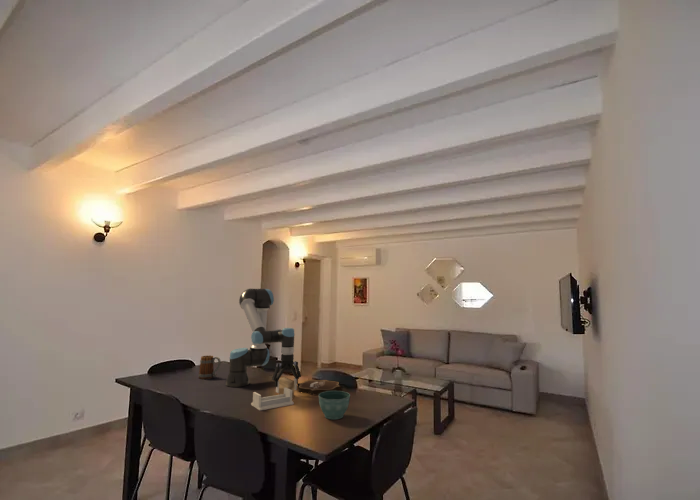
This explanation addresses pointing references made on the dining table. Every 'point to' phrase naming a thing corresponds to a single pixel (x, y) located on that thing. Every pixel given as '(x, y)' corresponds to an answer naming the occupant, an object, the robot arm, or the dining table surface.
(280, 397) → the track
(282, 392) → the door panel
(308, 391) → the decorative plaque
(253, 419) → the dining table surface
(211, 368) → the mug
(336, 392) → the flower pot
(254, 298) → the robot arm
